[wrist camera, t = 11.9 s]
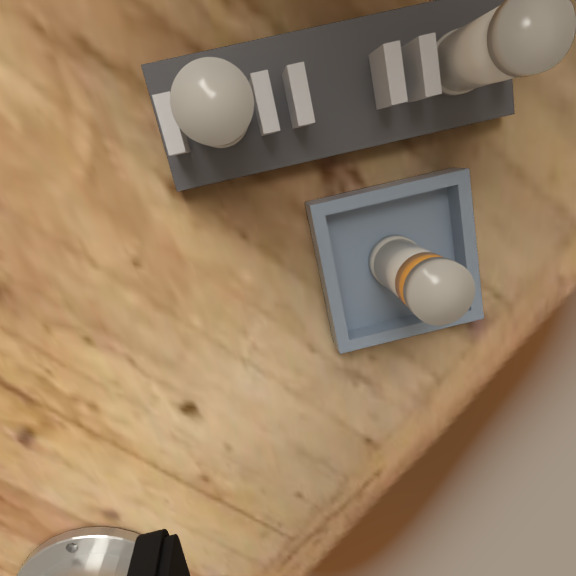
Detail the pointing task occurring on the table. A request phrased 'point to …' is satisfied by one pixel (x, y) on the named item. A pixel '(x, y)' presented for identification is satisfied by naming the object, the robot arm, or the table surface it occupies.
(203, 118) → the domed white capsule
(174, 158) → the fuse holder
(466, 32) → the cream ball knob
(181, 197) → the table surface
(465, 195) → the tray
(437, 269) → the cylinder
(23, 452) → the table surface
